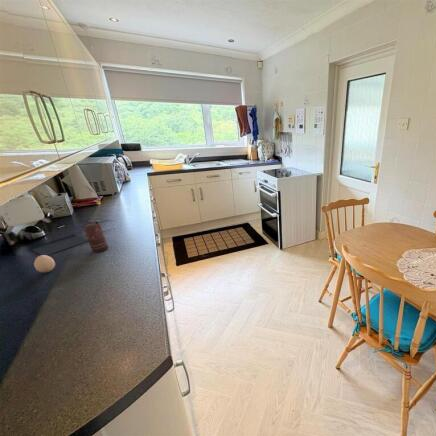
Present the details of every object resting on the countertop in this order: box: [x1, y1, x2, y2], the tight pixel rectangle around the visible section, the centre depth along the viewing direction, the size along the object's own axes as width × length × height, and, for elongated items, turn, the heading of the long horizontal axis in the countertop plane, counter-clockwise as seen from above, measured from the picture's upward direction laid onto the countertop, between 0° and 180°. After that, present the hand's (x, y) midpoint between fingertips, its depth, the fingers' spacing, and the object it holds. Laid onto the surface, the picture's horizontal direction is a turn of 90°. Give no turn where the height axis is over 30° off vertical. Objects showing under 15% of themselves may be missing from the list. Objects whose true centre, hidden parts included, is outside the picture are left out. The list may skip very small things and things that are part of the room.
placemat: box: [28, 234, 89, 257], centre depth 118 cm, size 18×16×1 cm
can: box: [83, 221, 109, 254], centre depth 111 cm, size 6×6×14 cm
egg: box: [33, 255, 56, 274], centre depth 95 cm, size 6×6×8 cm
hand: (33, 236), depth 90 cm, fingers open, 9 cm apart
